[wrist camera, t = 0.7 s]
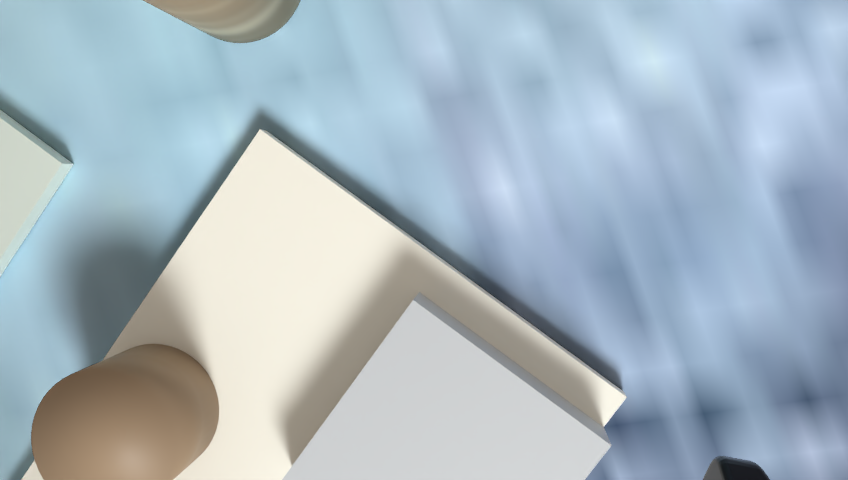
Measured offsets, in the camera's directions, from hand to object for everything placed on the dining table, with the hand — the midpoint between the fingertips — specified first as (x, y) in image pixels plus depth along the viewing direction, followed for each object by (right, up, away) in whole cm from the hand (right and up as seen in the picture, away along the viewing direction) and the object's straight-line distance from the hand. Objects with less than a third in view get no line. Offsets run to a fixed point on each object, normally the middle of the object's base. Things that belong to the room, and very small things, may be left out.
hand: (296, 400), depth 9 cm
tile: (-3, -5, +14) cm, 15 cm away
